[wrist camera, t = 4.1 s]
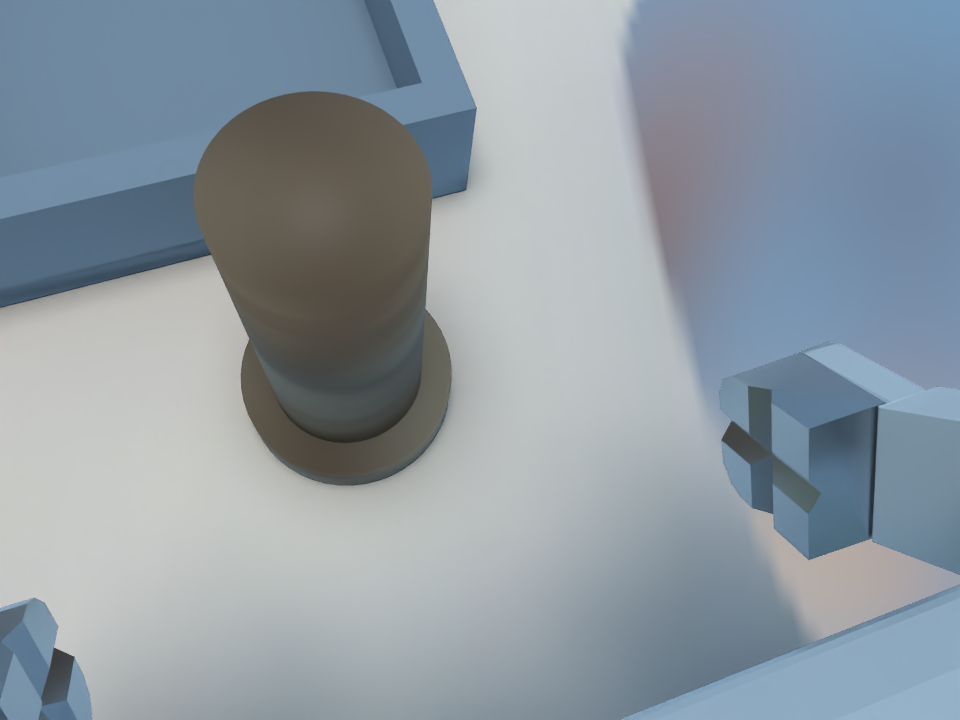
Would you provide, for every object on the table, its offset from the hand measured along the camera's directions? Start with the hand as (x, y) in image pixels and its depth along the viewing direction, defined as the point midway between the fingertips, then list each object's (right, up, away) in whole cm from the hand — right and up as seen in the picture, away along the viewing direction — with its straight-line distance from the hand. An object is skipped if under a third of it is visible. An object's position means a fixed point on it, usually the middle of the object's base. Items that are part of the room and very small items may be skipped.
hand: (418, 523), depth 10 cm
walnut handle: (-2, +1, +11) cm, 11 cm away
